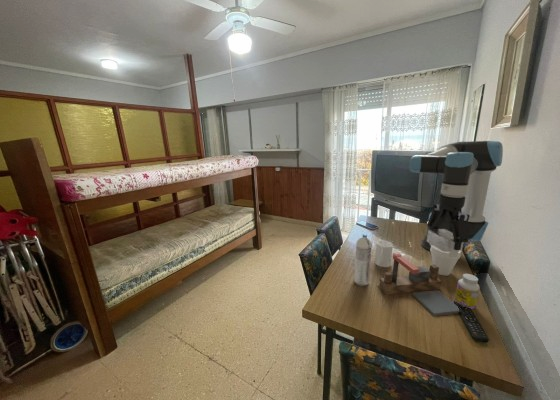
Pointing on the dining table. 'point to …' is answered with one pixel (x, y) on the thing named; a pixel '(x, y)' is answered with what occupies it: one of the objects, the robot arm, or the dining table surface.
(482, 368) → the dining table surface
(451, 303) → the mat
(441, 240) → the light grey block
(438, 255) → the cup
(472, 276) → the supplement bottle
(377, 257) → the mug
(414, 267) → the lever
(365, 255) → the water bottle
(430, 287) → the brown wooden stand
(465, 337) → the dining table surface
